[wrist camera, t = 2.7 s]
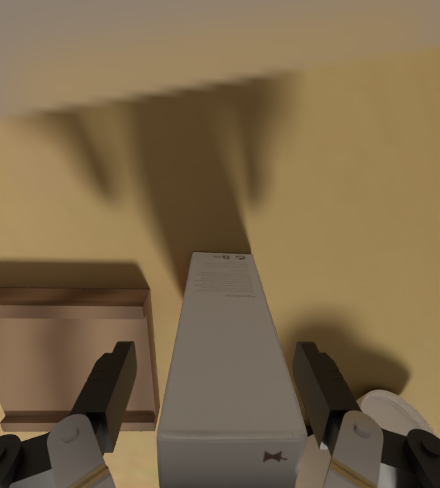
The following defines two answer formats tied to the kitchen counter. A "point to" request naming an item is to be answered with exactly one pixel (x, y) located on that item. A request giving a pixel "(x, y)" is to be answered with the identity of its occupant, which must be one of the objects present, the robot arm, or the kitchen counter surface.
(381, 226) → the kitchen counter surface
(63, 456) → the robot arm
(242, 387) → the skincare box
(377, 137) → the kitchen counter surface
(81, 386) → the board
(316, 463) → the spread jar
